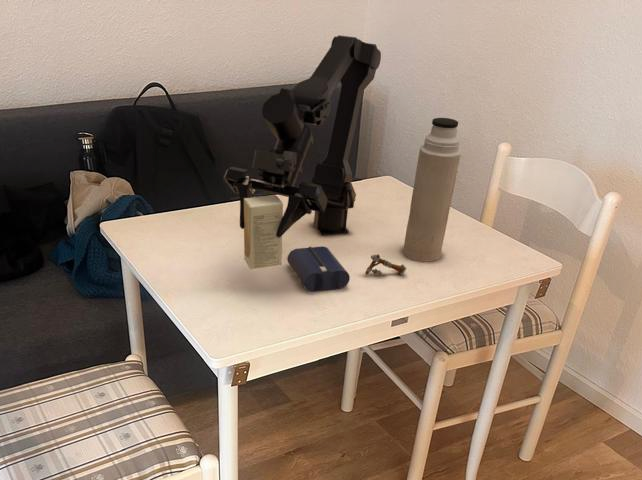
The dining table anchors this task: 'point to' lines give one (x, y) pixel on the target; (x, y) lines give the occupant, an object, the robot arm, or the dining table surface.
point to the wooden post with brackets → (386, 263)
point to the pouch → (318, 269)
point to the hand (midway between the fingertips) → (259, 232)
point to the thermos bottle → (433, 191)
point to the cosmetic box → (262, 231)
